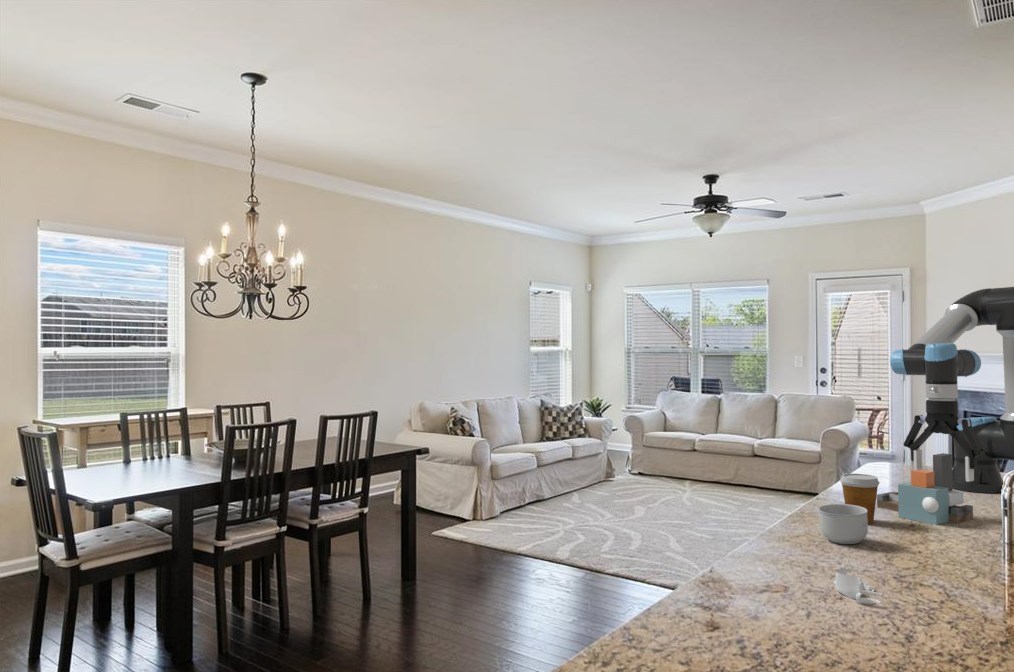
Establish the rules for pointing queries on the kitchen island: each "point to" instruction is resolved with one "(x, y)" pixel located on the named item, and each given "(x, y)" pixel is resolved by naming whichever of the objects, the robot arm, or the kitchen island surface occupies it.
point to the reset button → (922, 478)
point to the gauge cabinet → (923, 503)
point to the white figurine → (854, 587)
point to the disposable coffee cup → (861, 492)
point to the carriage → (946, 477)
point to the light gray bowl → (843, 523)
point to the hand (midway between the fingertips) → (943, 477)
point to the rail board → (896, 508)
